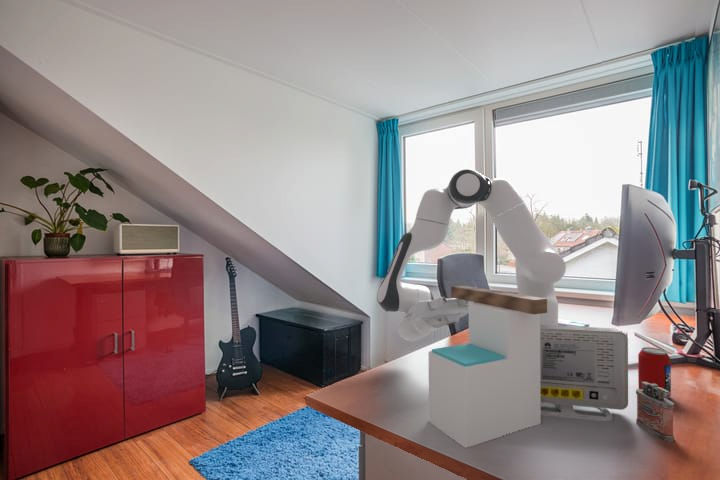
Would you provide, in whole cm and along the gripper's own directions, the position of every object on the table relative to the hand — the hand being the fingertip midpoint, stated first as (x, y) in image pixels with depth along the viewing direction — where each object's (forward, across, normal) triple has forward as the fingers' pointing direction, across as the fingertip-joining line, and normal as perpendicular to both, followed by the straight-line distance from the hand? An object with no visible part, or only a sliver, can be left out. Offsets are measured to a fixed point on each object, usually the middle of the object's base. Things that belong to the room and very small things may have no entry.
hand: (457, 297), depth 100 cm
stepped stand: (+1, -6, +30) cm, 31 cm away
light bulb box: (-22, +63, +18) cm, 69 cm away
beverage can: (+8, +45, +35) cm, 58 cm away
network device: (+4, +16, +32) cm, 37 cm away
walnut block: (+11, 0, +6) cm, 13 cm away
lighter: (+17, +24, +40) cm, 50 cm away
